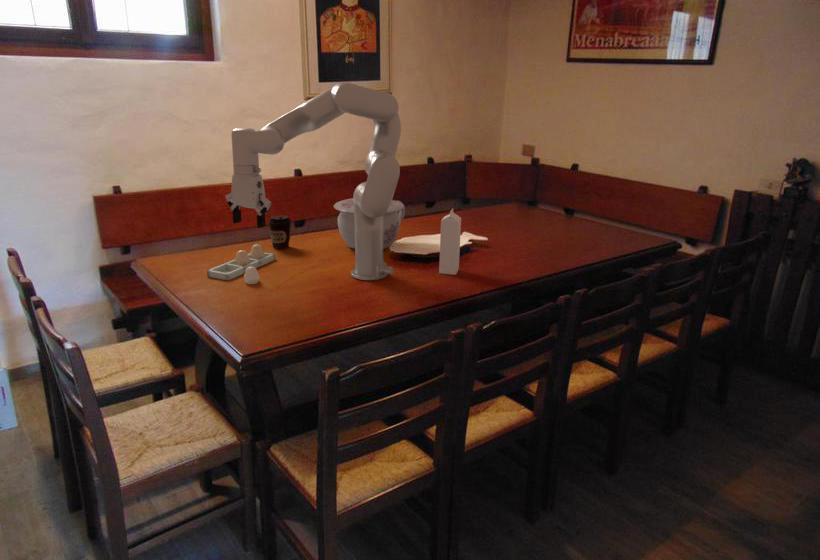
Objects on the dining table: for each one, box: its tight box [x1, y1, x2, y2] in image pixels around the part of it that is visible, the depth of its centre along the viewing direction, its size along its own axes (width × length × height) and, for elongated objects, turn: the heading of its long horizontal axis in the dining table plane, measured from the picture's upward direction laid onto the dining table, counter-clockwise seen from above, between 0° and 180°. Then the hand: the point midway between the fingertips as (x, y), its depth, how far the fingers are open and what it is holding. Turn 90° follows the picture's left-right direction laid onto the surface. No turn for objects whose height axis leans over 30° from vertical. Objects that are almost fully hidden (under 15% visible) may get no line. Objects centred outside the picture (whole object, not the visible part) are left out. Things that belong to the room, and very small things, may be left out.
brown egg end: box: [249, 243, 265, 260], centre depth 209 cm, size 5×5×6 cm
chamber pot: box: [333, 197, 406, 250], centre depth 230 cm, size 28×27×21 cm
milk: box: [438, 208, 462, 276], centre depth 202 cm, size 6×6×22 cm
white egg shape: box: [243, 266, 260, 285], centre depth 189 cm, size 5×5×6 cm
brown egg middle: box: [235, 249, 250, 266], centre depth 202 cm, size 5×5×6 cm
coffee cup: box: [268, 214, 292, 251], centre depth 225 cm, size 9×8×13 cm
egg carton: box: [206, 251, 276, 281], centre depth 205 cm, size 25×17×3 cm
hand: (249, 224), depth 184 cm, fingers open, 9 cm apart
